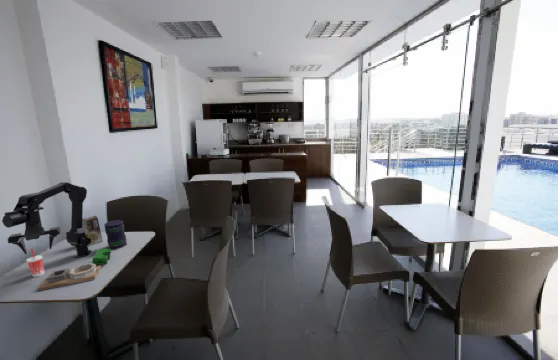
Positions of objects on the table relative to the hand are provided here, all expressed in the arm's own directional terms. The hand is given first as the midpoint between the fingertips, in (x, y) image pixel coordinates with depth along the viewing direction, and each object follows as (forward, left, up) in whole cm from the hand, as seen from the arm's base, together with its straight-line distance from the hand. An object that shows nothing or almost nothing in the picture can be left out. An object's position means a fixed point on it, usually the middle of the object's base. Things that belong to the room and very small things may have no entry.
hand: (38, 251), depth 133 cm
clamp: (-3, +25, -14) cm, 28 cm away
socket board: (+9, +14, -13) cm, 21 cm away
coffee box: (-36, +12, -13) cm, 40 cm away
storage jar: (-23, +28, -13) cm, 39 cm away
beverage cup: (-3, -4, -13) cm, 14 cm away
